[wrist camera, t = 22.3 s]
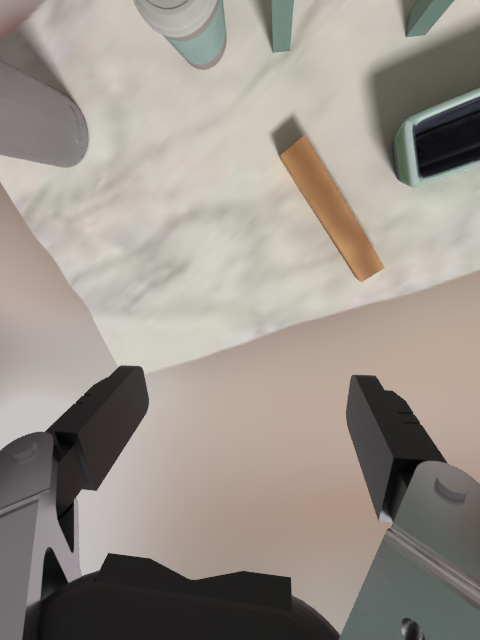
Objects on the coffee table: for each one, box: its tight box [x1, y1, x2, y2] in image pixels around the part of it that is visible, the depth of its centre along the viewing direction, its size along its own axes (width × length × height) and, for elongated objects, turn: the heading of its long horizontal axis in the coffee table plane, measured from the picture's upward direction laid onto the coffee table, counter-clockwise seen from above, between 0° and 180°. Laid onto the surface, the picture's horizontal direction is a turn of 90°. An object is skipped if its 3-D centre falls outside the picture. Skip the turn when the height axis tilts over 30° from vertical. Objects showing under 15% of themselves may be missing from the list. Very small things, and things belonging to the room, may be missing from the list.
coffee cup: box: [134, 0, 226, 69], centre depth 28 cm, size 9×8×12 cm
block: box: [280, 135, 385, 282], centre depth 37 cm, size 4×20×4 cm, turn 38°
